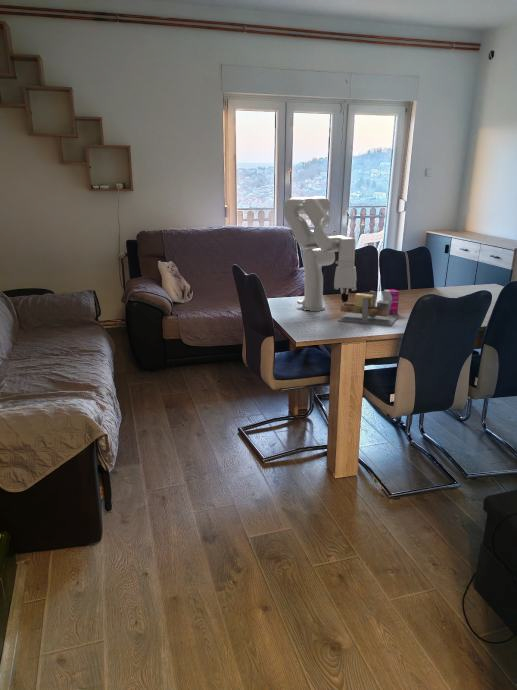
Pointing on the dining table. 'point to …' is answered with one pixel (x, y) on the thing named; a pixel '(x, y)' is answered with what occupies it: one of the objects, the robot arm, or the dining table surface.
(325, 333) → the dining table surface
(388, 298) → the supplement box
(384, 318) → the stand
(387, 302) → the beam
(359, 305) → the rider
